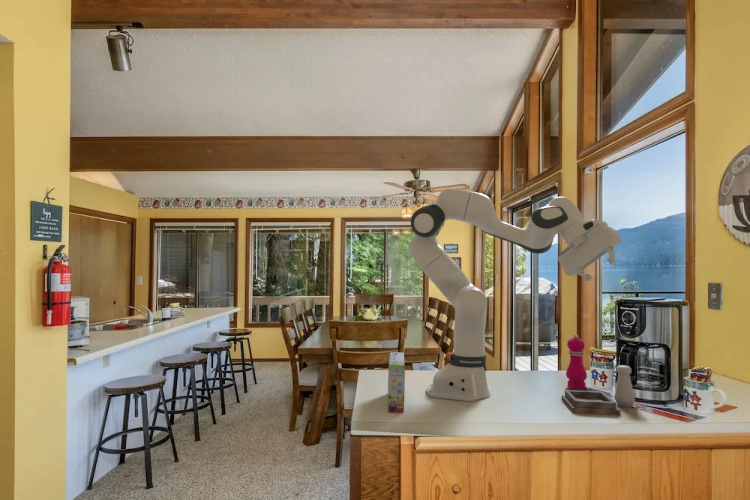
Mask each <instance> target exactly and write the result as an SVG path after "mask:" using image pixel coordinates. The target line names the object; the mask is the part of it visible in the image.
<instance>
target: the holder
mask: <svg viewBox="0 0 750 500" xmlns="http://www.w3.org/2000/svg"><path fill="white" fill-rule="evenodd" d="M561 401H562V402H563V404H565V406H566V407H567V408H568V409H569V411H570V412H571V413H573V414H590V415H591V414H593V415H611V416H612V415H614V416H621V412H622V411H621V409H619V408H618V407H617V402H615V401H614V399H612V398H611V397H610V396H608V395H607V394H606V393H605V392H603V391H596V390H595V391H593V390H592V391H591V390H571V389H570V390H569V389H565V390H564V395H563V394H562V395H561Z"/></svg>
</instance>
